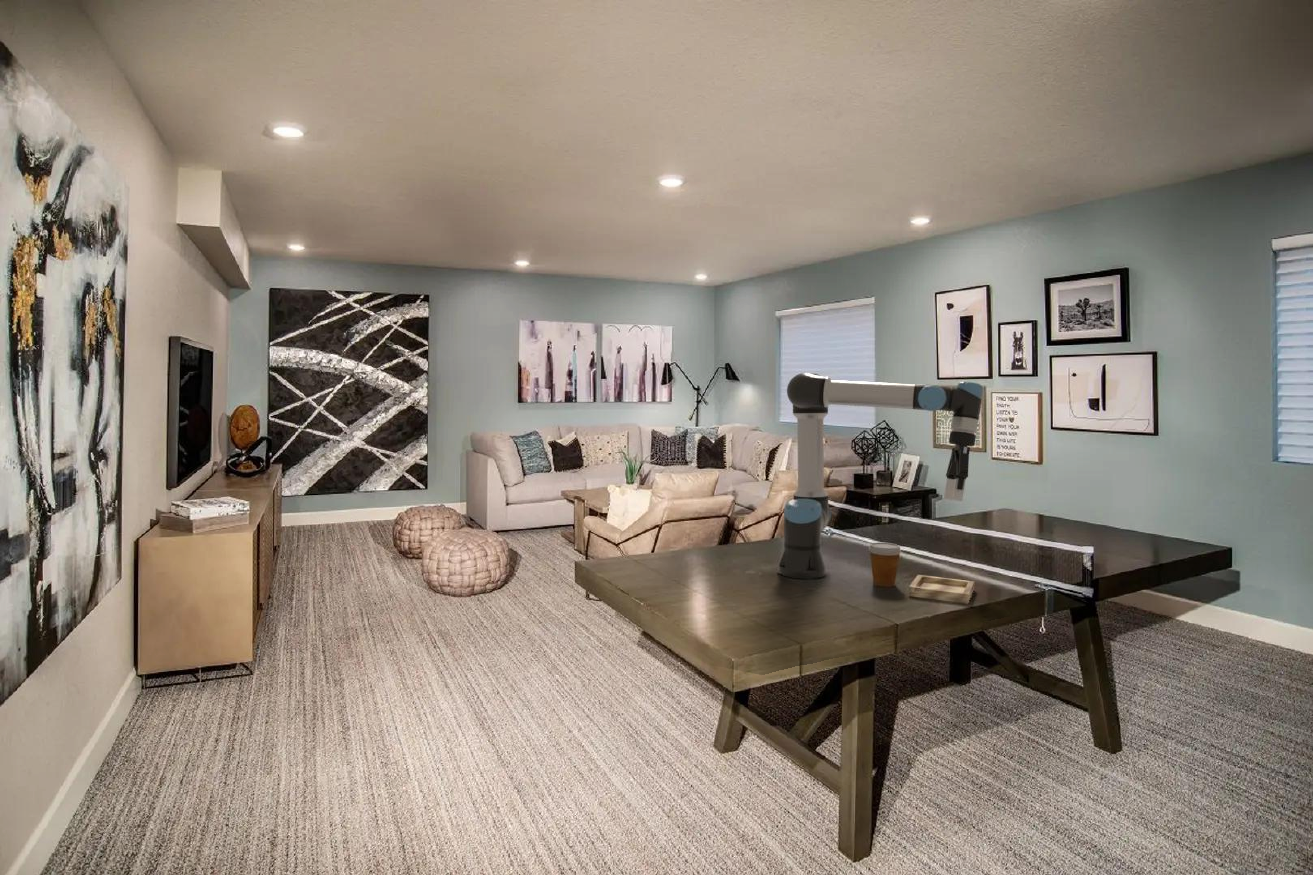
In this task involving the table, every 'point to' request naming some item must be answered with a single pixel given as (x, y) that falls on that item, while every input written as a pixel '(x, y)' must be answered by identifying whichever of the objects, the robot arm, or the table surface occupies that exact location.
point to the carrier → (942, 589)
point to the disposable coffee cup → (884, 563)
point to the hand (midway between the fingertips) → (952, 500)
